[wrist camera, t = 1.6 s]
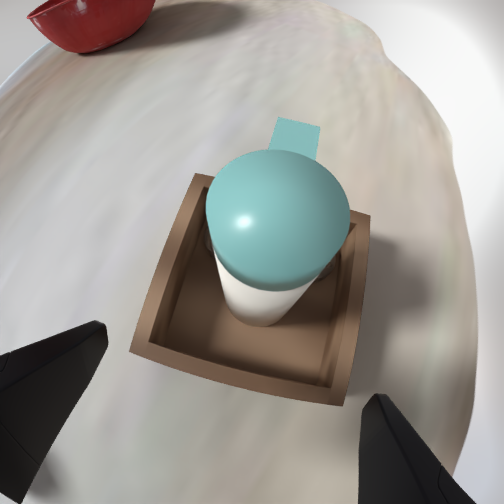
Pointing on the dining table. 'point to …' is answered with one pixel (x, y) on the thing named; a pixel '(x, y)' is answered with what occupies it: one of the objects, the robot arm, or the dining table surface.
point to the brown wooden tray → (244, 336)
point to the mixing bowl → (90, 22)
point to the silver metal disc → (326, 270)
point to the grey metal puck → (209, 242)
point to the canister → (275, 223)
